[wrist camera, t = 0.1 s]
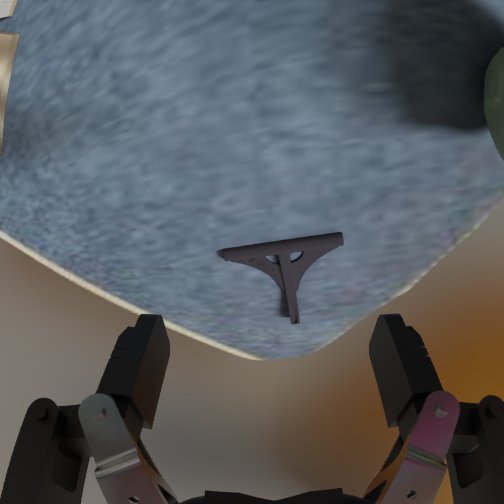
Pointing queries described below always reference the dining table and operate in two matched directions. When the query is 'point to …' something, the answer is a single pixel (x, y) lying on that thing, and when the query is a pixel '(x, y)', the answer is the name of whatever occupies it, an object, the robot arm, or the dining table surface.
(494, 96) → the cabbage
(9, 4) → the block
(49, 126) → the dining table surface
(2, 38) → the birch board
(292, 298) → the bracket
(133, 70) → the dining table surface
